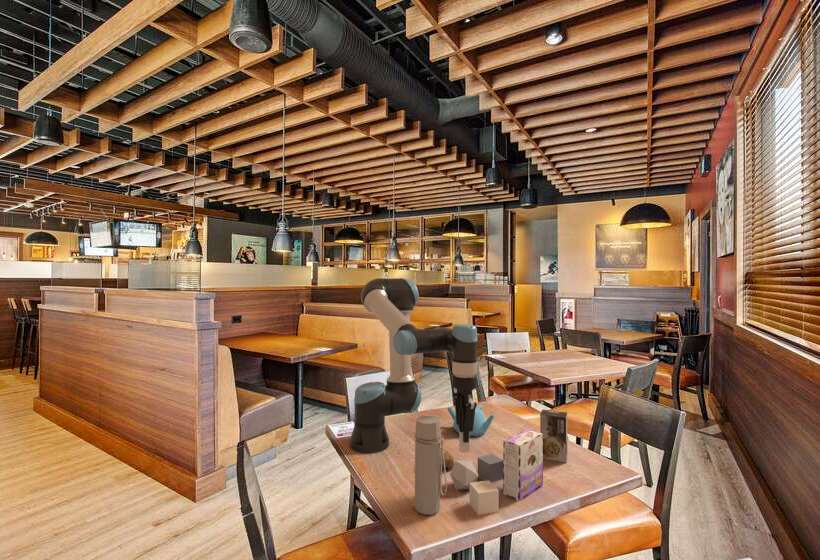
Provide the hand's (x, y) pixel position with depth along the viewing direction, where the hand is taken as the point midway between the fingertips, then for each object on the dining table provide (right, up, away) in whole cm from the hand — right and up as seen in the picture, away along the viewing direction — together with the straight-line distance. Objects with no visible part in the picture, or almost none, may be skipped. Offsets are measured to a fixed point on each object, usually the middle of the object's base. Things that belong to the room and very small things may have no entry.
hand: (464, 451), depth 127 cm
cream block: (+4, -11, -11) cm, 16 cm away
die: (0, -11, 0) cm, 11 cm away
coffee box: (+35, -12, +22) cm, 43 cm away
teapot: (+9, -12, +48) cm, 50 cm away
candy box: (+18, -12, -1) cm, 21 cm away
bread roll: (-7, -12, +14) cm, 20 cm away
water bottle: (-11, -11, -13) cm, 20 cm away
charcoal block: (+9, -11, +7) cm, 16 cm away
